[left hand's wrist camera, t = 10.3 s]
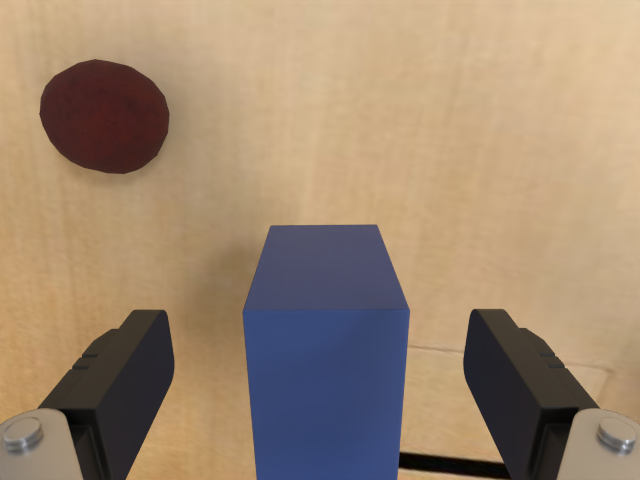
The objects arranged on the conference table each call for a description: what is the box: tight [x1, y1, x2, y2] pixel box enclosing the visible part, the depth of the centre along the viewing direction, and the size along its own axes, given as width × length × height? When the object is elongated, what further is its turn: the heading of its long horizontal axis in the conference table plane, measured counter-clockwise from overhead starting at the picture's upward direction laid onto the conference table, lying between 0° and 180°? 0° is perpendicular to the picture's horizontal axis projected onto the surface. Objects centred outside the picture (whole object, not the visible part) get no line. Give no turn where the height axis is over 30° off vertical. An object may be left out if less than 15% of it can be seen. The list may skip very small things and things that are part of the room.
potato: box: [39, 59, 169, 174], centre depth 29 cm, size 7×8×7 cm
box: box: [243, 225, 410, 480], centre depth 24 cm, size 21×6×10 cm, turn 0°
